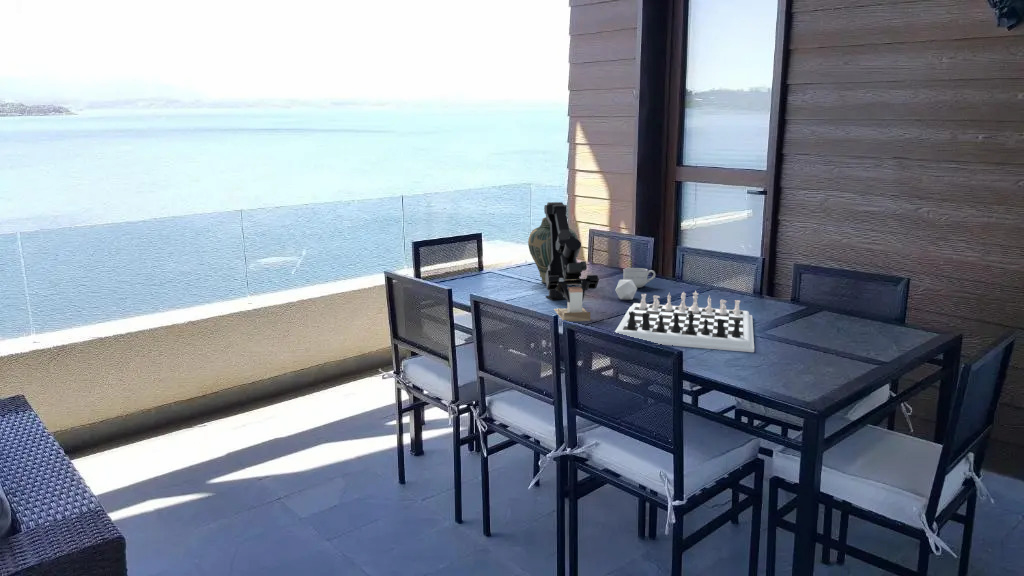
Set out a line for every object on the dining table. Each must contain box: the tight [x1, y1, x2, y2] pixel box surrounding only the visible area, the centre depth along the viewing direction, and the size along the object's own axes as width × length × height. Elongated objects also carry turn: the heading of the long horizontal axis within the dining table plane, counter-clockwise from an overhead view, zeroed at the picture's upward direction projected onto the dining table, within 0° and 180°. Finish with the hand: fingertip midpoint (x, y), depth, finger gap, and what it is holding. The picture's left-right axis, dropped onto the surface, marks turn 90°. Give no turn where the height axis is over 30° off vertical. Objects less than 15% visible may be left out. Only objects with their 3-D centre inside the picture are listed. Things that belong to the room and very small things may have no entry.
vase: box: [527, 216, 579, 284], centre depth 337 cm, size 22×22×30 cm
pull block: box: [566, 286, 584, 313], centre depth 275 cm, size 4×4×11 cm
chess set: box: [614, 290, 755, 353], centre depth 263 cm, size 45×45×11 cm
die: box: [614, 279, 638, 300], centre depth 308 cm, size 8×9×10 cm
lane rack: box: [553, 307, 592, 322], centre depth 280 cm, size 19×10×4 cm, turn 8°
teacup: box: [622, 267, 656, 289], centre depth 331 cm, size 14×11×8 cm
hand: (575, 301), depth 273 cm, fingers closed on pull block, 4 cm apart
